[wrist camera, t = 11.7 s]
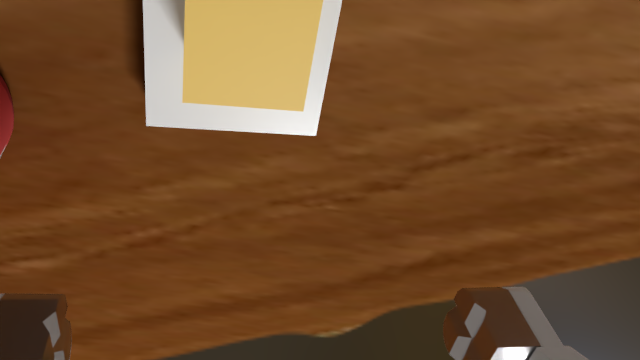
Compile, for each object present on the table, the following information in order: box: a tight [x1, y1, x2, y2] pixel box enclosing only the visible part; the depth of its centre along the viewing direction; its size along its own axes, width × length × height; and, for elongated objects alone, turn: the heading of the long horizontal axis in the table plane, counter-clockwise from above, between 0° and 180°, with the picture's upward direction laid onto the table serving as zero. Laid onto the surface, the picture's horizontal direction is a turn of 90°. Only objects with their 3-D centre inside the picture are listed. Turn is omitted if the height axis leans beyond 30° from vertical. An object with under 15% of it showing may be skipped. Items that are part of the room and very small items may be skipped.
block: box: [182, 0, 323, 112], centre depth 23 cm, size 5×5×5 cm
